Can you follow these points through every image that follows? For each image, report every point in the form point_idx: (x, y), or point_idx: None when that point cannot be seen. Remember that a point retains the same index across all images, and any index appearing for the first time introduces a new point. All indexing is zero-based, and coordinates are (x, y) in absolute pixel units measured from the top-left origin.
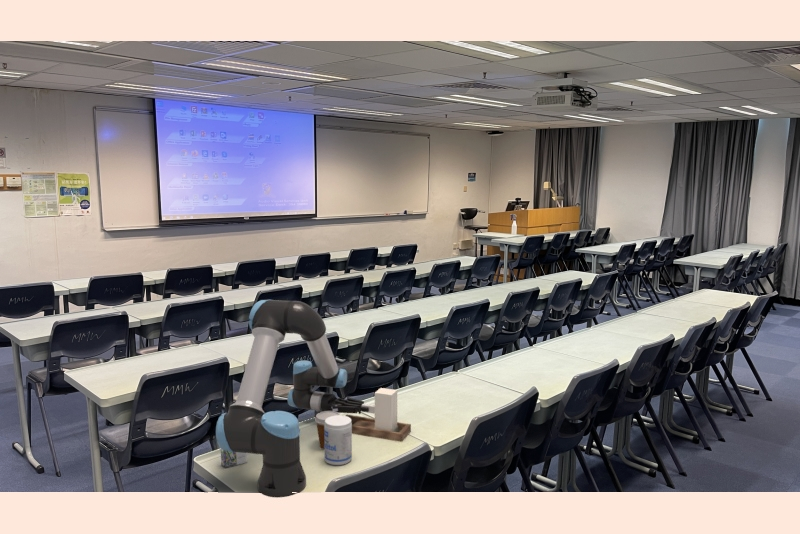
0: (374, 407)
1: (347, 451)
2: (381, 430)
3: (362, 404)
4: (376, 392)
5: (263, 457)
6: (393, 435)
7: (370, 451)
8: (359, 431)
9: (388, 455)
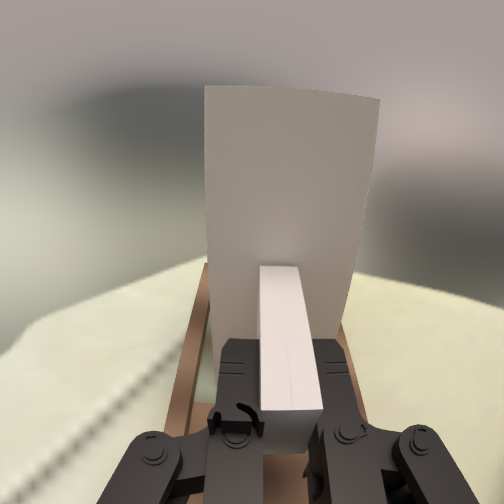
0: (299, 285)
1: None
2: (339, 335)
3: (292, 407)
4: (359, 96)
5: None
6: None
7: (460, 347)
8: None
9: (434, 296)
